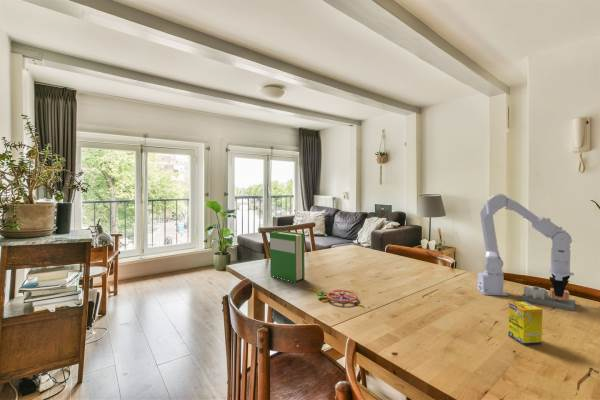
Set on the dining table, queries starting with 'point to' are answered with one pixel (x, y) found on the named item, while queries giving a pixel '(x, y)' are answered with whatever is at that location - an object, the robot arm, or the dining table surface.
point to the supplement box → (525, 323)
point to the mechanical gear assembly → (338, 296)
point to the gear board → (546, 298)
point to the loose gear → (565, 297)
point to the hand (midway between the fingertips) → (559, 294)
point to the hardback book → (287, 255)
